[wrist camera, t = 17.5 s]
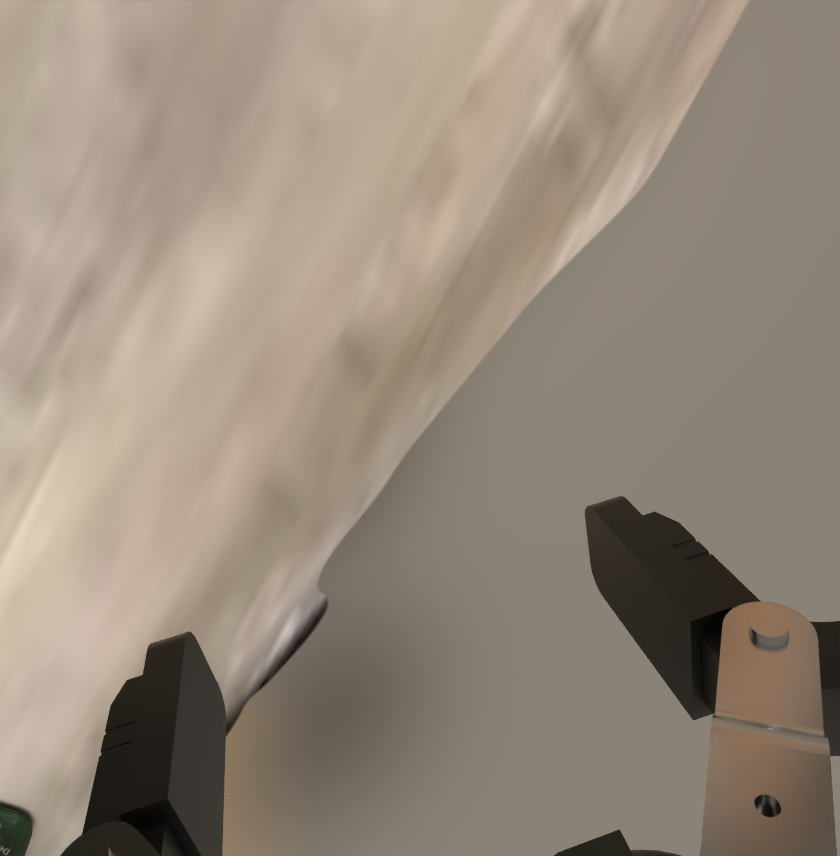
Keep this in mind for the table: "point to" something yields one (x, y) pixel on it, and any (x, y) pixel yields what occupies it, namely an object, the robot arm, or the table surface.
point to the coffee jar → (14, 832)
